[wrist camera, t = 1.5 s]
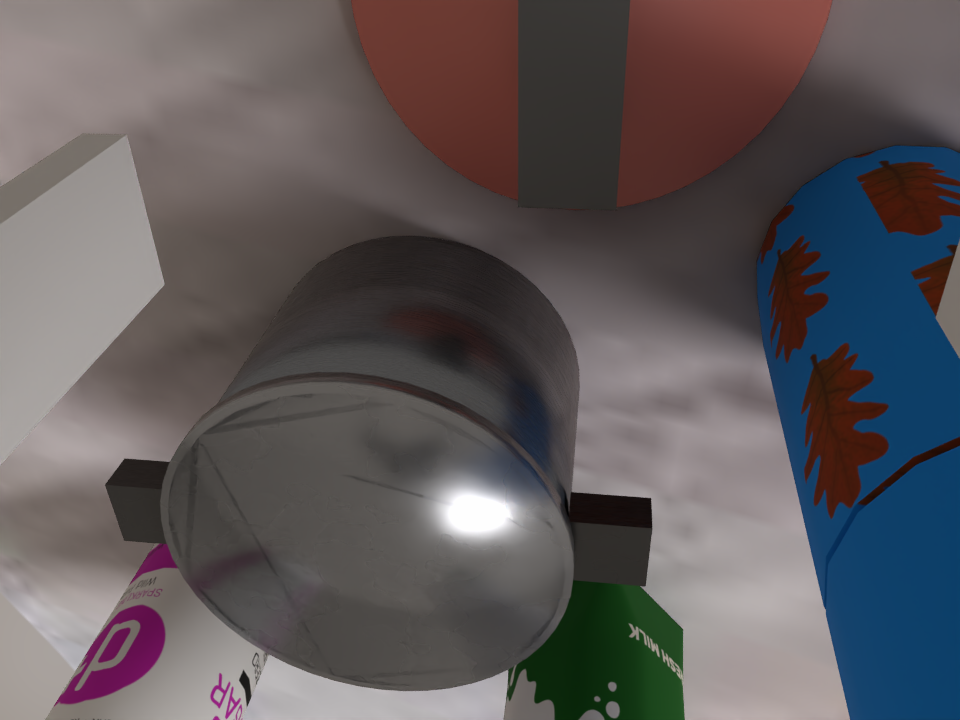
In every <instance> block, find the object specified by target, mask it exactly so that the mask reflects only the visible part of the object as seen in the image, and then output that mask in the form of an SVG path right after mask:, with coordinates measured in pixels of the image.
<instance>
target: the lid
mask: <svg viewBox="0 0 960 720" xmlns="http://www.w3.org/2000/svg"><path fill="white" fill-rule="evenodd" d="M351 2H352V8H353V15H354V19H355V23H356V26H357V30H358V33H359V37H360V40H361V44H362V47H363V50H364V52H365V55H366V57H367V60H368V62H369V64H370V67H371V69H372V72H373V74H374V76H375V78H376V80H377V82H378V83H379V85H380V87H381V89H382V91H383V92H384V94H385V96H386V98H387V100H388V101H389V103H390V104H391V106H392V107H393V108H394V110H395V111H396V112H397V114H398V115H399V117H400V118H401V119H402V121H403V122H404V124H405V125H406V126H407V127H408V128H409V129H410V130H411V132H412V133H413V134H414V135H415V136H416V137H417V138H418V139H419V140H420V141H421V142H422V143H423V144H424V146H425V147H426V148H428V149H429V150H430V151H431V152H432V153H434V154H435V155H436V156H437V157H438V158H439V159H441V160H442V161H443V162H444V163H445V164H447V165H448V166H449V167H451V168H452V169H454V170H456V171H457V172H459V173H460V174H462V175H463V176H465V177H466V178H468V179H469V180H471V181H473V182H475V183H477V184H479V185H481V186H483V187H485V188H487V189H489V190H491V191H493V192H495V193H498V194H501V195H504V196H506V197H509V198H512V199H515V200H518V207H528V208H558V209H569V210H616V207H622V206H628V205H633V204H637V203H640V202H644V201H648V200H651V199H655V198H658V197H661V196H663V195H666V194H668V193H671V192H673V191H676V190H678V189H681V188H683V187H685V186H687V185H689V184H691V183H693V182H694V181H696V180H698V179H700V178H702V177H704V176H705V175H707V174H709V173H711V172H712V171H714V170H715V169H716V168H718V167H719V166H721V165H722V164H723V163H725V162H726V161H728V160H729V159H730V158H732V157H733V156H735V155H736V154H737V153H738V152H739V151H740V150H742V149H743V148H744V147H745V146H746V145H747V144H748V143H749V142H750V141H752V140H753V139H754V138H755V137H756V136H757V135H758V134H759V133H760V132H761V131H762V130H763V129H764V127H765V126H766V125H767V124H768V123H769V122H770V121H771V119H772V118H773V117H774V116H775V115H776V114H777V113H778V111H779V110H780V109H781V108H782V106H783V105H784V103H785V102H786V100H787V99H788V98H789V96H790V95H791V93H792V92H793V90H794V89H795V87H796V86H797V84H798V83H799V81H800V80H801V78H802V76H803V74H804V72H805V70H806V68H807V66H808V64H809V62H810V61H811V59H812V57H813V55H814V53H815V51H816V48H817V46H818V43H819V40H820V38H821V35H822V33H823V30H824V27H825V25H826V22H827V20H828V16H829V12H830V8H831V4H832V0H351Z"/></svg>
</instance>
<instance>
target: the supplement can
mask: <svg viewBox="0 0 960 720" xmlns="http://www.w3.org/2000/svg"><path fill="white" fill-rule="evenodd" d="M268 655H269V654H268V653H266V652H264V651H263V650H261V649H259V648H258V647H256V646H254V645H253V644H251V643H250V642H248V641H246V640H245V639H244V638H242V637H241V636H240V635H238V634H237V633H236V632H234V631H233V630H231V629H230V628H229V627H228V626H226V625H225V624H224V623H223V622H222V621H221V620H220V619H219V618H217V617H216V616H215V615H214V614H213V613H212V612H211V611H210V610H209V609H208V608H207V607H206V606H205V605H204V604H203V602H202V601H201V600H200V599H199V598H198V597H197V596H196V595H195V593H194V592H193V591H192V589H191V588H190V586H189V585H188V584H187V582H186V581H185V580H184V578H183V577H182V575H181V573H180V571H179V569H178V568H177V566H176V564H175V562H174V560H173V558H172V556H171V553H170V551H169V548H168V545H167V544H159V543H155V544H154V546H153V548H152V549H151V551H150V552H149V554H148V556H147V557H146V559H145V560H144V562H143V564H142V565H141V567H140V569H139V570H138V572H137V573H136V575H135V577H134V578H133V580H132V581H131V583H130V585H129V586H128V588H127V589H126V591H125V593H124V594H123V596H122V597H121V599H120V601H119V602H118V604H117V605H116V607H115V609H114V610H113V612H112V613H111V615H110V617H109V618H108V620H107V621H106V623H105V625H104V626H103V628H102V630H101V631H100V633H99V634H98V636H97V638H96V639H95V641H94V642H93V644H92V646H91V647H90V649H89V650H88V652H87V654H86V655H85V657H84V658H83V660H82V662H81V663H80V665H79V666H78V668H77V670H76V671H75V673H74V675H73V676H72V678H71V679H70V681H69V683H68V684H67V686H66V687H65V689H64V691H63V692H62V694H61V696H60V697H59V699H58V700H57V702H56V703H55V705H54V707H53V708H52V710H51V711H50V713H49V715H48V716H47V718H46V720H242V718H243V716H244V714H245V711H246V709H247V706H248V704H249V701H250V699H251V697H252V694H253V692H254V689H255V687H256V684H257V682H258V680H259V677H260V675H261V672H262V670H263V667H264V665H265V663H266V660H267V658H268Z"/></svg>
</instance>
